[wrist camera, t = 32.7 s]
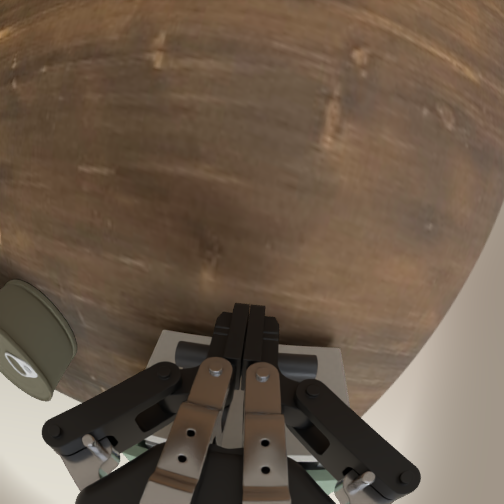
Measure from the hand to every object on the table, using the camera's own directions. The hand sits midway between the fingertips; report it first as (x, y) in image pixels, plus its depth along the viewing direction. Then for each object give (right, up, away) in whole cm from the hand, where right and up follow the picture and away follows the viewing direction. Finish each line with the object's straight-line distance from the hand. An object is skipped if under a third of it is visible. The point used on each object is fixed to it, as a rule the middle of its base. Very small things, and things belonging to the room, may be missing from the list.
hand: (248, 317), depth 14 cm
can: (-24, -5, +11) cm, 27 cm away
